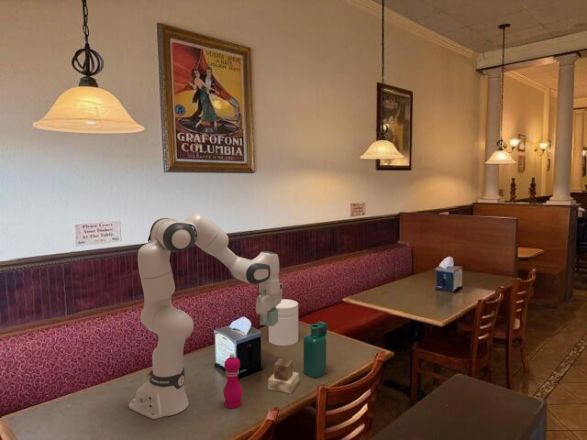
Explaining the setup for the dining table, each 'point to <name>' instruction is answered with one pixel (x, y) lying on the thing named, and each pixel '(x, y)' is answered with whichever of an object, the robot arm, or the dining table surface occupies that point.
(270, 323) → the teal block
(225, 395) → the pepper mill
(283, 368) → the walnut block
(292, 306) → the canister
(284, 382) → the maple base
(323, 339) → the green water bottle
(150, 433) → the dining table surface
